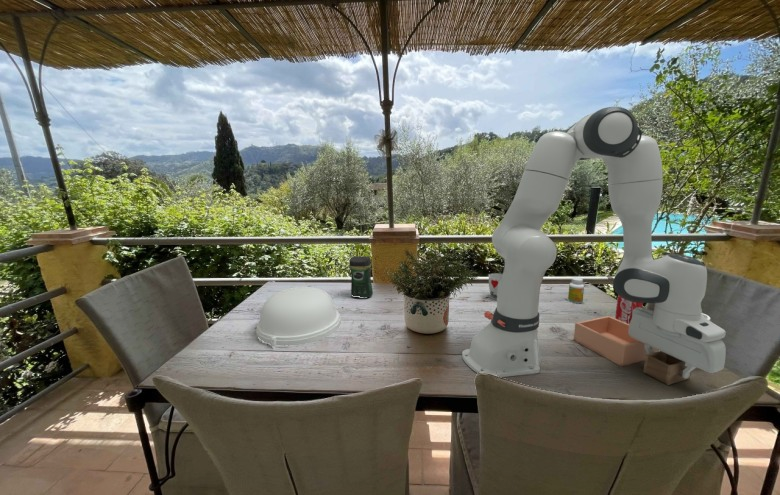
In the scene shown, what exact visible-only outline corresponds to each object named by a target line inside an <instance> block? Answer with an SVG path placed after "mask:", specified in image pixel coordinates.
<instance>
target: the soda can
mask: <svg viewBox="0 0 780 495" xmlns="http://www.w3.org/2000/svg"><path fill="white" fill-rule="evenodd" d="M643 305H644V303H637V302H630V301H627V300H625V299H623V298H621V297H620V296H619V295H618V296H617V300H616V308H615V314H614V315H615V317H614V318H615V319H617V320H620V321H622V322H625V323H627V324H630V322H631V319H632V313H633V309H635V308H637V307H643Z"/></svg>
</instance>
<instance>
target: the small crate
mask: <svg viewBox="0 0 780 495" xmlns="http://www.w3.org/2000/svg"><path fill="white" fill-rule="evenodd" d="M682 368H685V369H686V368H687V366H685V362H684V361H682V360H680V359H677V358H675V357H673V356H671V355H668V354H666V353H664V352H662V351H660V350H659V352H655V353H651V354H648V355H646V357H645V360H644V364H643V374H644V373H645V374H646V375H648V376H650V377H651V378H654V379H655V380H657V381H659V382H661V383H663V384H665V385H666V386H669V385H673V384H676V383H680V382H683V381H687V380H689V379H690V378H691V374H692V371H690V375H689V377H688V378H686V379H685V378H683V377H681V376H679V375H678V373H679V369H682Z"/></svg>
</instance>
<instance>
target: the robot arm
mask: <svg viewBox="0 0 780 495" xmlns="http://www.w3.org/2000/svg"><path fill="white" fill-rule="evenodd" d="M590 159H592V160H593V159H595V160H596V159H601V161H602V162H603V163H604V165H605V166H606V169H607V172H608V173H607V184H608V185H607V188H608V197H609V202H610V205H611V210H612V211H613V213H614V214H615V215H616V216H617V218H618V219H619V221H620V223H621V226H622V235H623V236H622V237H623V238H622V239H623V255H622V256H623V257H622V258H621V260H620V262H619V264H618V266H617V270H616V273H615V275H614V278H613V282H612V284H613V289H614V292H616V294H617V295H618V296H620V297H621V298H623V299H625V300H627V301H630V302H637V303H643V304H654V308H653V310H651V309H647V308H645V307H643V306H642V307H637V308H635V309H633V313H632V319H631V322H630V325H629V329H628V334H629V336H630V337H631V338H633V339H635V340H638V341H640V342H642V343H644V344H645V345H644V348H645V350H646V352H647V354H651V353H655V352H654V350H653V348H655V349H657V350H659V351H662V352H664V353H666V354H668V355H671V356H673V357H675V358H677V359H680V360H682V361H684V362H685V366H687V368H686V369H685V368H682V369H679V373H678V375H679V376H681V377H683V378H685V379H686V378H688V377H689V375H690V371H691V372H692V371H693V370H695V369H696V368H697V369H700V370H702V371H705V372H706V373H709V374H714V373H717V372H720V371H722V370H723V369H724V368H725V364H726V357H727V355H726V353H727V349H726V344H725V343H724V341H723V340H722V339H724V338H725V337H726V334H727V332H726V330H725V329H724V328H722V327H720V326H719V325H717V324H715V323H714V322H712V321H711V320H710V321H709V320H708V319H706V318H705V317H703V316H702V315H701V313H703V310H702V306H701V305H702V301H703V299H704V298H705V295H706V291H707V283H708V270H707V267H706V265H705V264H704V263H703V262H702V261H700V260H699V259H697V258H694V257H691V256H689V255H685V254H679V253H677V254H676V253H668V254H666V255H664V256H662V257H658V258H656V259H655V258H654V255H653V247H652V246H653V245H652V242H653V241H652V226H653V225H652V224H653V221H654V218H655V216H656V213H657V212H658V211H659V207H660V203H661V201H662V195H663V187H664V186H663V185H664V173H663V162H662V156H661V151H660V147H659V144H658V142H657V140H656V139H654V138H653V137H651V136H648V135H643V133H642V130H641V129H640V127H639V124H638V121H637V119H636V118H635V115H634V114H633V113H632V112H631V111H630V110H628V109H627V108H624V107H621V106H609V107H604V108H601V109H599V110H596V111H595V112H592V113H590V114H587V115H585V116H584V117H582V118H581V119H579V120H578V121H577V122H574V123H573V124H572V125H571V126H570V127H569V128H567V130H566V131H565V132H564V131H559V130H557V131H556V130H555V131H554V130H553V131H549V132H546V133H544V134H542V135H541V136H540V137H539V139H538V140H537V142H536V143H535V145H534V147H533V149H532V151H531V153H530V155H529V157H528V160H527V161H526V165H525V167H524V170H523V173H522V176H521V179H520V181H519V183H518V184H519V185H518V187H517V190H516V192H515V195H514V197H513V200H512V201H511V204H510V205H509V207H508V209H507V211H506V213H505V214H504V217H502V219H501V222H500V224H499V225H498V226H497V227H496V228H495V229H494V230H493V232H492V235H491V242H492V246H493V247H494V249H495V252H496V253H497V254H498V255H499V256H500V257H502V258H503V260H504V267H503V272H502V274H503V275H502V278H501V280H500V281H499V283H498V290H497V300H496V308H495V309H494V311H493V313H492V312H490V311H489V310H487V311H485V312H484V314H483V316H484V317H485V318H486V319H488V320H490V322H489V323H488V324H486V325H485V326H484V327H483V328H482V329H481V330H479V332H477V333H476V334H475V335H473V336H472V339H471V342H470V347H469V348H467V349H464V350H462V353H461V357H462V360H463V361H464V362H465V364H466V365H467V366H468V367H469V368H470V369H471V370H473V371H474V372H475V373H477V374H478V372H484V373H490V374H494V375H497V376H500V377H499V378H506V377H514V376H525V375H534V374H539V373H540V371H541V368H540V364H541V363H542V357H541V354H540V349H539V336H538V328H539V326H540V312H539V303H540V292H541V285H542V282H543V280H544V276H545V274H546V272H547V270H549V268H551V266H553V264H554V262H555V260H556V259H557V248H556V245H555V242H554V241H553V240H552V239H551V238H550V237H549V236H548V235H547V234H546V233H545V232H543V231H541V229H542V227H544V225H545V223H546V222H547V220H548V219H549V218H550V216H552V215H553V214H555V213H556V211H557V210H558V209H559V205H560V203H561V201H562V198H563V195H564V193H565V191H566V188H567V184H568V182H569V180H570V177H571V174H572V171H573V169H574V167H575V165H576V164H577V162H578V161H585V160H586V161H588V160H590ZM690 376H691V375H690ZM686 380H687V379H686Z"/></svg>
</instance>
